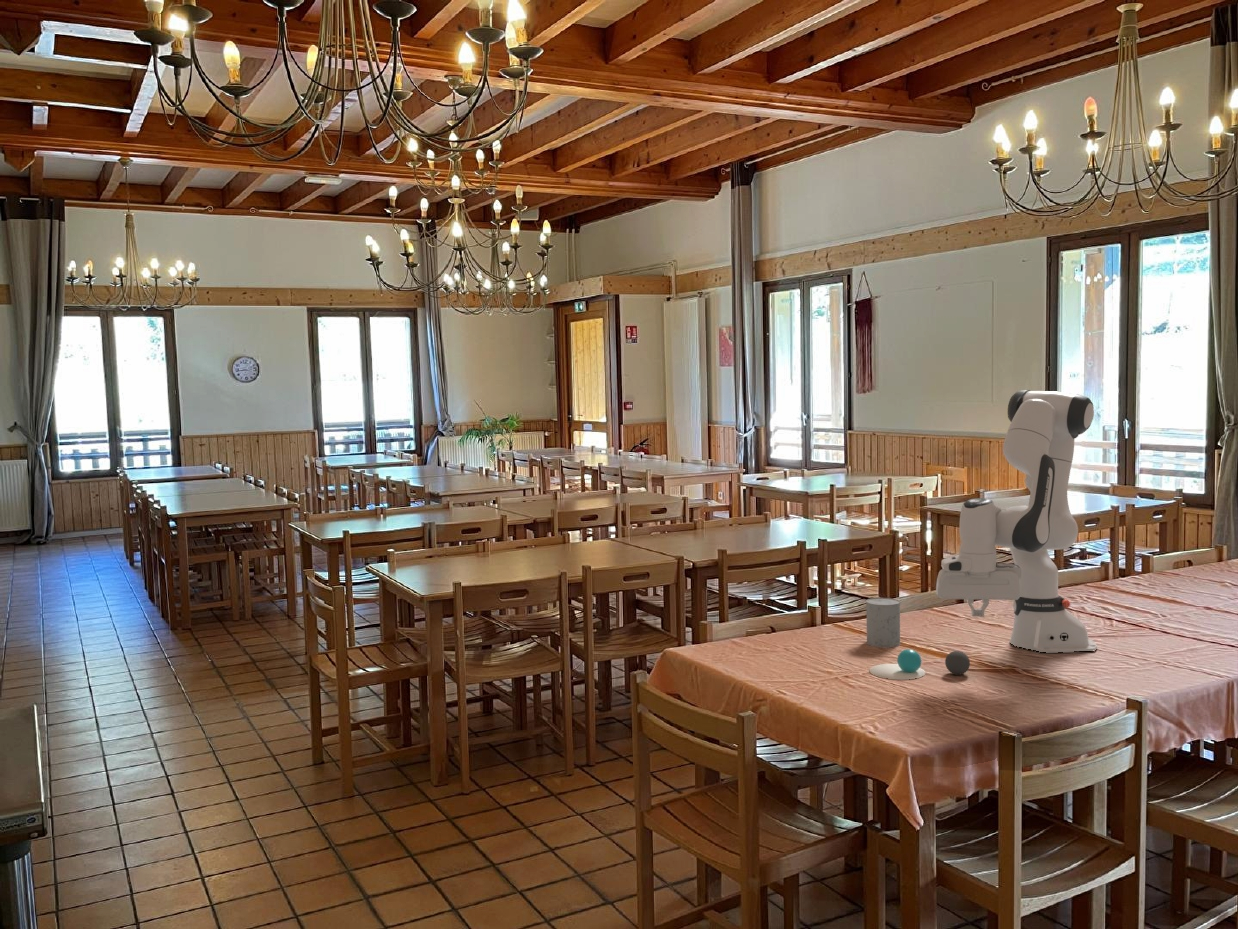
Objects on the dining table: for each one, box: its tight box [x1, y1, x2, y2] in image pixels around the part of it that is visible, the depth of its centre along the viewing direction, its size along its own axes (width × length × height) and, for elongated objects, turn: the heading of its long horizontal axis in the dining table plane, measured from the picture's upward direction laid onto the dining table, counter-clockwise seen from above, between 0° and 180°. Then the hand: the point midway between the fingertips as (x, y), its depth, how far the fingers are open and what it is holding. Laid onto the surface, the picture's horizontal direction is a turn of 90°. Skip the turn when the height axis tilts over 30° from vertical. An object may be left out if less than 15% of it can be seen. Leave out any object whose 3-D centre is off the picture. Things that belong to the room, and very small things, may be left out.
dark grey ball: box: [944, 650, 971, 676], centre depth 257 cm, size 6×6×6 cm
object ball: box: [896, 648, 922, 673], centre depth 260 cm, size 6×6×6 cm
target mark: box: [869, 663, 926, 681], centre depth 260 cm, size 14×14×1 cm
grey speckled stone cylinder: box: [865, 597, 901, 649], centre depth 289 cm, size 10×10×12 cm
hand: (977, 616), depth 255 cm, fingers closed
